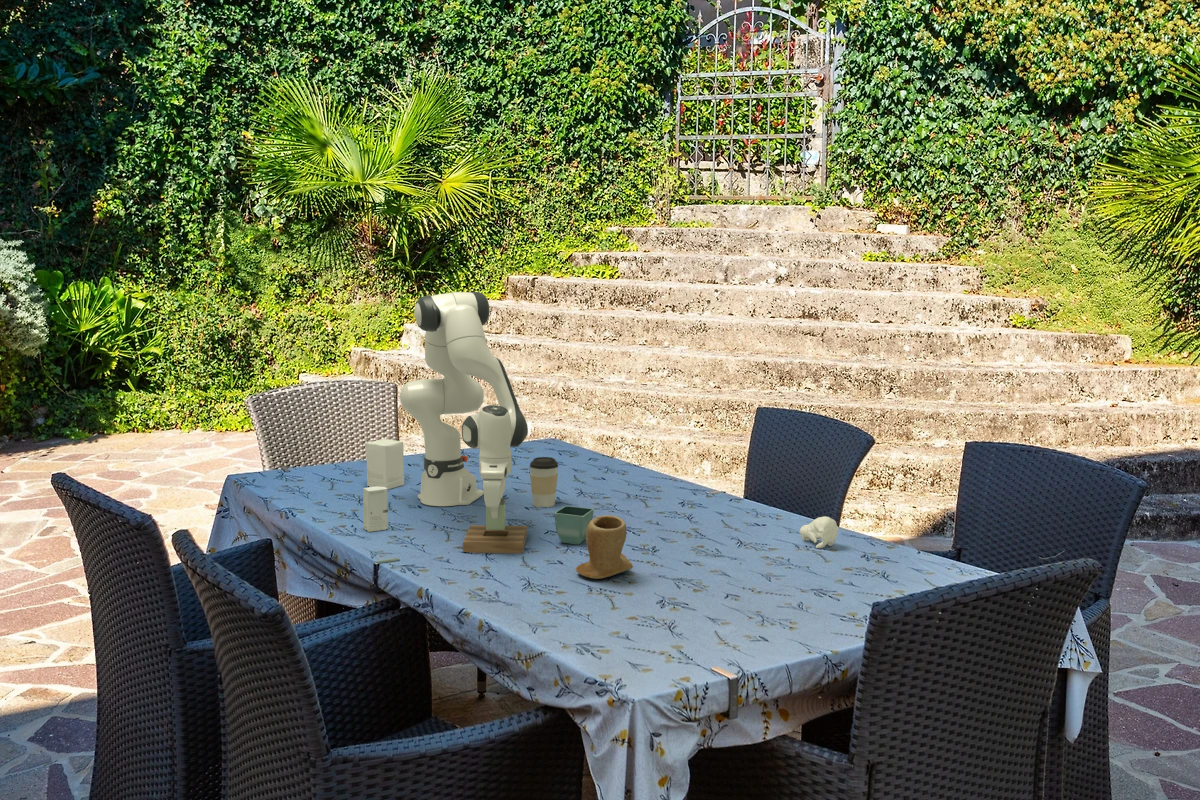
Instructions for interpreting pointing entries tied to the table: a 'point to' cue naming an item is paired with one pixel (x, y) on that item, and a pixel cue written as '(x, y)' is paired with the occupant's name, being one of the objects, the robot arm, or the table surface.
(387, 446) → the supplement box
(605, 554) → the stone cup
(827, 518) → the cream animal figurine
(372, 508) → the skincare box
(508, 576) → the table surface
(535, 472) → the coffee cup
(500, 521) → the keyed peg
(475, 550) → the walnut slot block
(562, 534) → the flower pot
